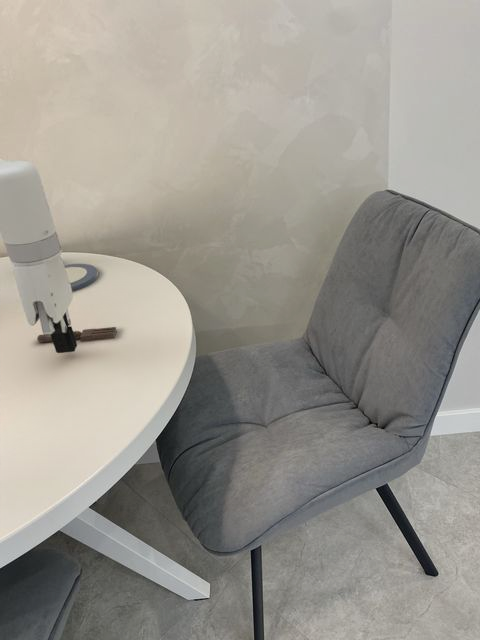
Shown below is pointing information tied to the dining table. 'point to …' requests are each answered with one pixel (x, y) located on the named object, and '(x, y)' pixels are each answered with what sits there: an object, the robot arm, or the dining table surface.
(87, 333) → the brown wooden dowel
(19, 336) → the dining table surface
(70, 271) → the plate
